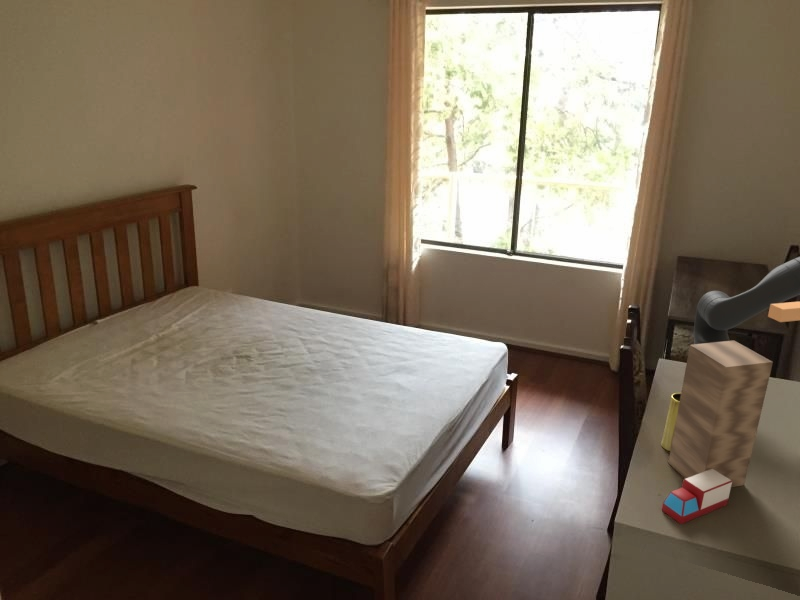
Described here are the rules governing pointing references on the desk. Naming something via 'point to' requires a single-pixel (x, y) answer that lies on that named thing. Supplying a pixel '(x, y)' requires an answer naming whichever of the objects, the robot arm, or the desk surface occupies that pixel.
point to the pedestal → (719, 410)
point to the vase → (671, 421)
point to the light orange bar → (785, 311)
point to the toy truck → (698, 496)
